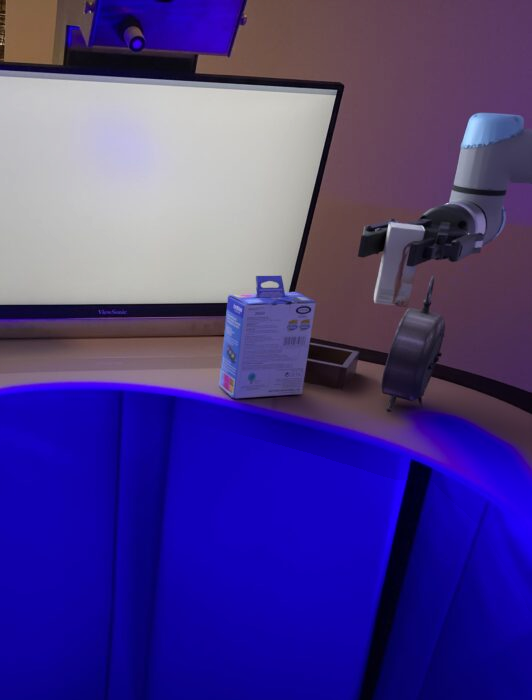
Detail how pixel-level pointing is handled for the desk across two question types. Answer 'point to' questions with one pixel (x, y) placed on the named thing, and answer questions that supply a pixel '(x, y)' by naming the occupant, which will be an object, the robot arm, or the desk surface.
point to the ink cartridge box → (266, 341)
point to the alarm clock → (413, 353)
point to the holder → (330, 365)
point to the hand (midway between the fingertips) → (386, 250)
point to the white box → (397, 265)
